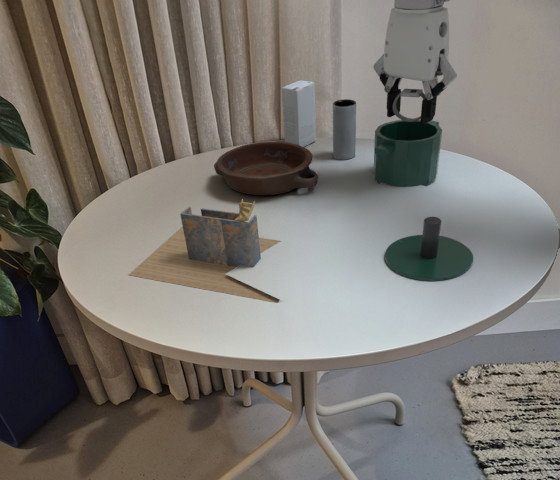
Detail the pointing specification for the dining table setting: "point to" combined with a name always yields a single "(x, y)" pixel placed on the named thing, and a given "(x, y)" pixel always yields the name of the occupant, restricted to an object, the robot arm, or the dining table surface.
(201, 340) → the dining table surface
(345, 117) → the grey cylinder
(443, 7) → the robot arm
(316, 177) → the dish
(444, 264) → the lid
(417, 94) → the wristwatch
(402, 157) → the pot
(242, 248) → the ruin model on sheet
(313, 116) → the cosmetic box
